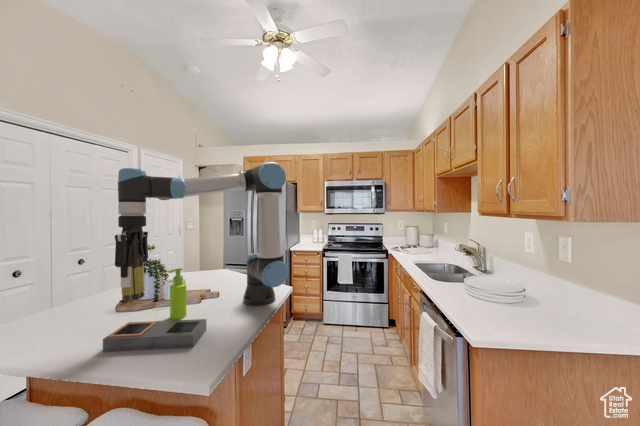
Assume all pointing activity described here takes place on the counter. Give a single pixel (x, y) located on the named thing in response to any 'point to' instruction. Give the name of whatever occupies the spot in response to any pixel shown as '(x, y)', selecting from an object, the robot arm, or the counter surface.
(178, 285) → the soap dispenser
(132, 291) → the sauce bottle
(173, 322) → the grey tray
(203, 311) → the counter surface
